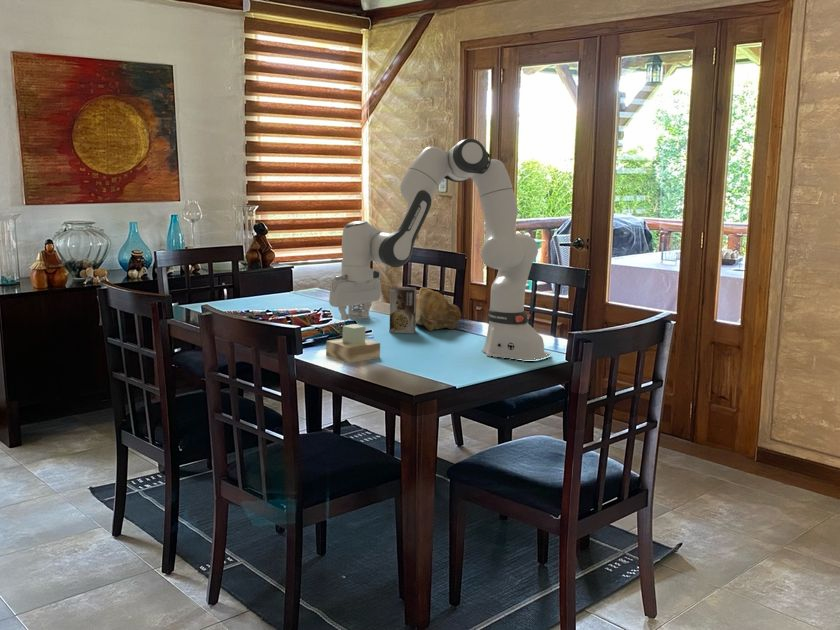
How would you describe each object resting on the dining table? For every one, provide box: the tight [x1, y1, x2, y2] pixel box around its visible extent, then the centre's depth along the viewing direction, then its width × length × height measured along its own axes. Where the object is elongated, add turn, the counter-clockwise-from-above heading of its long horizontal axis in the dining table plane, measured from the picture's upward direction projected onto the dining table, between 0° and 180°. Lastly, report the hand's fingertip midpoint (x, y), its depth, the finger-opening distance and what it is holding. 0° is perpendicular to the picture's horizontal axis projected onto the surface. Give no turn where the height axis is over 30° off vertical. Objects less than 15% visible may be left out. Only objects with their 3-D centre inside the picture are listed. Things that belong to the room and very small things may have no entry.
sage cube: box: [342, 323, 366, 344], centre depth 258 cm, size 5×5×5 cm
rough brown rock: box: [415, 286, 462, 331], centre depth 308 cm, size 23×17×15 cm
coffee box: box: [389, 286, 417, 334], centre depth 298 cm, size 9×6×16 cm
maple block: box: [325, 337, 381, 363], centre depth 259 cm, size 12×12×5 cm
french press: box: [347, 303, 371, 320], centre depth 323 cm, size 10×12×25 cm
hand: (355, 318), depth 256 cm, fingers open, 8 cm apart
